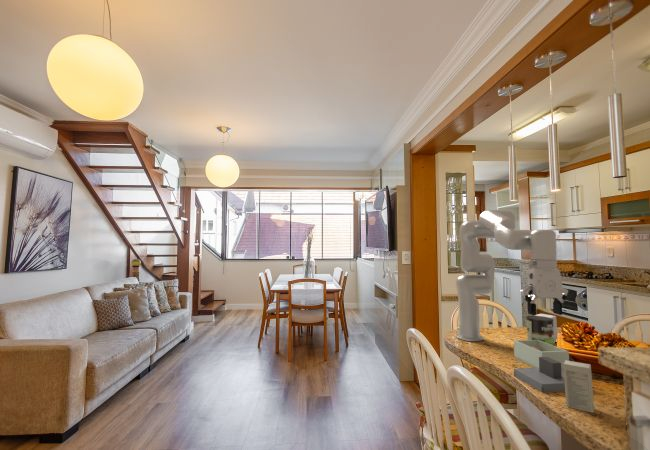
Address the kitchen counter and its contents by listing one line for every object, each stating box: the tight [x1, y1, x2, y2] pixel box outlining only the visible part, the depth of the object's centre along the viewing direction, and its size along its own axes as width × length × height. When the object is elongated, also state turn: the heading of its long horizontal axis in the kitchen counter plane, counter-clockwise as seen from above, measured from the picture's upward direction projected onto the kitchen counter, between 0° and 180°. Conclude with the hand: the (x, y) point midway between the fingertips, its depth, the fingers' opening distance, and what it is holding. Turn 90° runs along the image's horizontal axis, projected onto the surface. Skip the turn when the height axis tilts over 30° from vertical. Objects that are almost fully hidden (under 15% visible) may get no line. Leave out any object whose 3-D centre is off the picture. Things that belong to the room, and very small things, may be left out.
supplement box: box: [532, 313, 558, 344], centre depth 158 cm, size 7×7×13 cm
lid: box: [513, 357, 565, 393], centre depth 110 cm, size 17×13×8 cm
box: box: [513, 339, 570, 370], centre depth 128 cm, size 15×11×7 cm
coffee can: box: [525, 315, 555, 346], centre depth 146 cm, size 10×10×14 cm
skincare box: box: [563, 360, 595, 413], centre depth 94 cm, size 6×4×12 cm
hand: (544, 314), depth 113 cm, fingers open, 9 cm apart
